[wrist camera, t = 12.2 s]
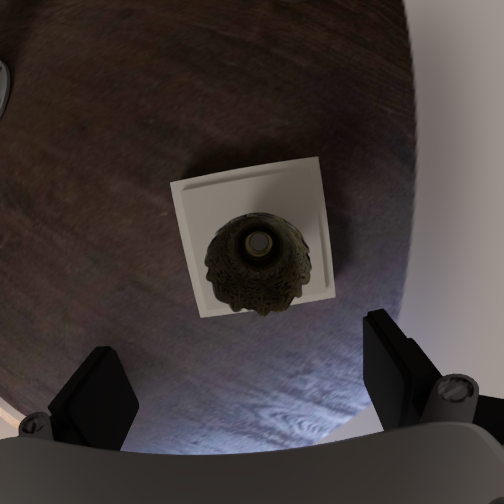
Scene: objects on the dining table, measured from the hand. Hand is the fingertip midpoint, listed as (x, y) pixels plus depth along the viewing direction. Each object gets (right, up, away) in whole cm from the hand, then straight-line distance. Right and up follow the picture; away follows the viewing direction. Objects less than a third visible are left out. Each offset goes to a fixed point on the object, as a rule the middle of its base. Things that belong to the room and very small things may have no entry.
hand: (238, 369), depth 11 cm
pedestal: (+1, +6, +22) cm, 23 cm away
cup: (+1, +5, +19) cm, 19 cm away
